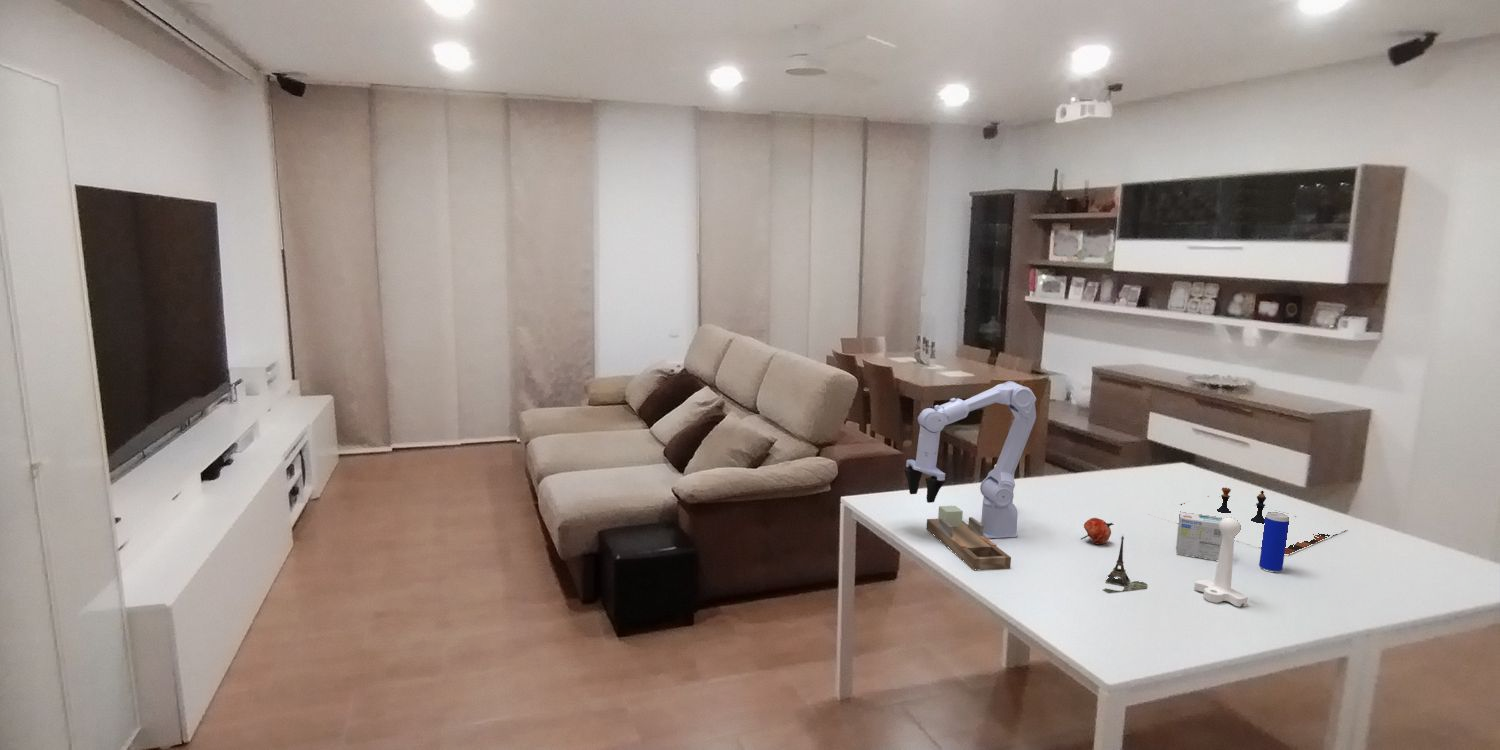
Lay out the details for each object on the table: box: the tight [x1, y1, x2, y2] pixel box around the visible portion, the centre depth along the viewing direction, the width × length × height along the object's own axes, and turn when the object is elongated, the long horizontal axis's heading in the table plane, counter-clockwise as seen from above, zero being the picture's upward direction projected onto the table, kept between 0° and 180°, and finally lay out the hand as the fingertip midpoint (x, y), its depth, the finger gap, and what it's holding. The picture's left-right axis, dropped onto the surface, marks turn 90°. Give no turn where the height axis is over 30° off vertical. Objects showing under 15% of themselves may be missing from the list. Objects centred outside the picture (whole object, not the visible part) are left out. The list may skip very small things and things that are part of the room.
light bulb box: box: [1175, 511, 1223, 561], centre depth 221 cm, size 11×7×11 cm, turn 65°
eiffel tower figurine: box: [1102, 535, 1149, 594], centre depth 201 cm, size 15×10×13 cm
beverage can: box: [1258, 512, 1289, 573], centre depth 212 cm, size 5×5×15 cm
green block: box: [937, 505, 964, 527], centre depth 232 cm, size 5×5×4 cm
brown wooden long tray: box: [926, 516, 1012, 571], centre depth 222 cm, size 10×30×6 cm, turn 11°
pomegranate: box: [1080, 517, 1114, 545], centre depth 229 cm, size 7×7×10 cm
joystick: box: [1193, 517, 1248, 607], centre depth 192 cm, size 11×8×20 cm
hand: (921, 497), depth 230 cm, fingers open, 7 cm apart
